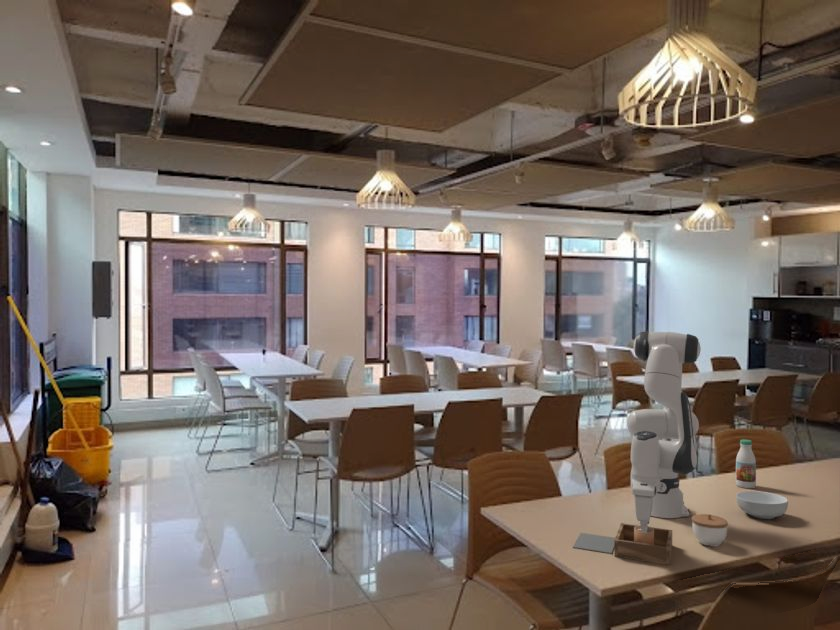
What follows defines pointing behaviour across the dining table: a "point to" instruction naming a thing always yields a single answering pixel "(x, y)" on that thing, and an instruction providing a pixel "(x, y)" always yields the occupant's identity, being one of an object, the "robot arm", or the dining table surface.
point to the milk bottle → (745, 465)
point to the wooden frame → (643, 545)
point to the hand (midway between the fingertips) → (645, 527)
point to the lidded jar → (709, 529)
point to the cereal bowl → (762, 504)
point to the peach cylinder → (644, 535)
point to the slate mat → (595, 543)
